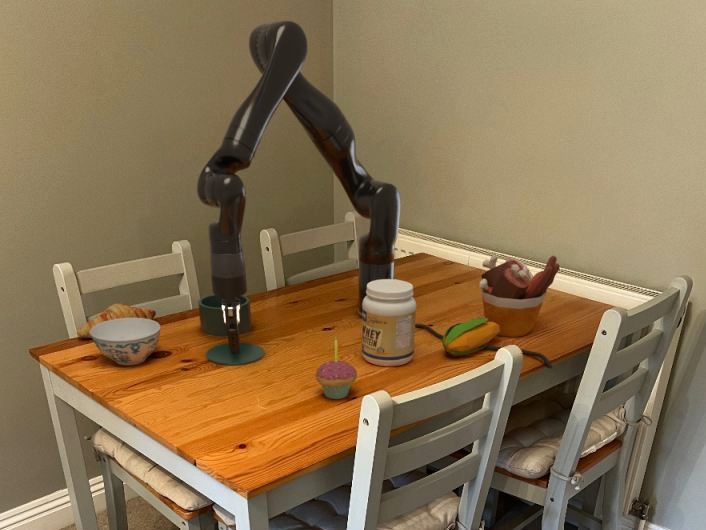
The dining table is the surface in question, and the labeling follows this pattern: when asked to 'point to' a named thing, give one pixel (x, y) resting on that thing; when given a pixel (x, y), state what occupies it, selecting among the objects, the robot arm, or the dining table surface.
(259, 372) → the dining table surface
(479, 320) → the corn
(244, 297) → the pot
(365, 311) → the supplement tub
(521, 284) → the bucket of meat
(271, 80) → the robot arm
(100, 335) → the chinaware
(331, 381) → the cupcake
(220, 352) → the lid
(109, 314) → the croissant
